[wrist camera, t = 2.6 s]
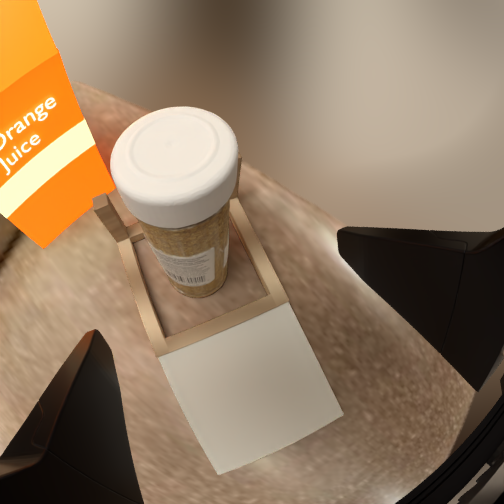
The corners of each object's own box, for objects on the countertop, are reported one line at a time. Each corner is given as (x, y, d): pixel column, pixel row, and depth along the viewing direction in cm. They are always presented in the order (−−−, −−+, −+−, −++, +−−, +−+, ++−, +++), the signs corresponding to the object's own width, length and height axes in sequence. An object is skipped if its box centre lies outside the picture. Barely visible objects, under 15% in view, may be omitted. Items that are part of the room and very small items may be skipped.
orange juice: (20, 198, 22) (-79, 55, 3) (84, 145, 25) (24, -23, 6) (43, 251, 20) (-104, 88, 2) (117, 188, 23) (40, -29, 5)
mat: (340, 413, 18) (343, 414, 18) (218, 472, 16) (218, 475, 15) (284, 298, 21) (285, 296, 21) (157, 352, 19) (155, 351, 18)
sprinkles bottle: (237, 258, 22) (262, 125, 10) (208, 310, 20) (192, 226, 8) (186, 231, 22) (160, 90, 10) (155, 281, 21) (81, 169, 8)
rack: (286, 303, 21) (310, 281, 15) (159, 357, 19) (136, 355, 13) (231, 194, 24) (235, 146, 18) (118, 237, 21) (91, 198, 16)
